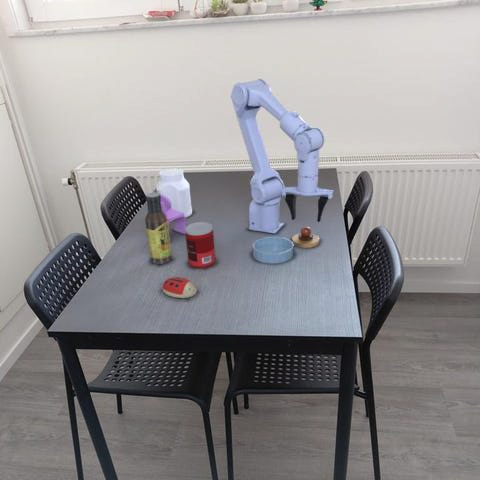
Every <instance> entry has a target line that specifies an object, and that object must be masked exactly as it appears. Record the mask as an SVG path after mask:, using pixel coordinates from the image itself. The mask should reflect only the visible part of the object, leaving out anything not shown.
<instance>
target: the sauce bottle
mask: <svg viewBox="0 0 480 480" xmlns="http://www.w3.org/2000/svg"><path fill="white" fill-rule="evenodd" d="M145 200H146V203H147V205H146V206H147V211H148V212H147V214H146V215H145V229H146V235H147V237H146V238H147V244H148V250H149V257H150V261H151V262H152V263H153V264H157V265H164V264H167V263H169V262H171V261H172V245H171V237H170V229H169V225H168V220H167V217H166V215H165V214H164V212H163V211H162V207H161V201H160V200H161V195H160V193H157V192H155V191H153V192H148V193H147V194H145Z"/></svg>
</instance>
